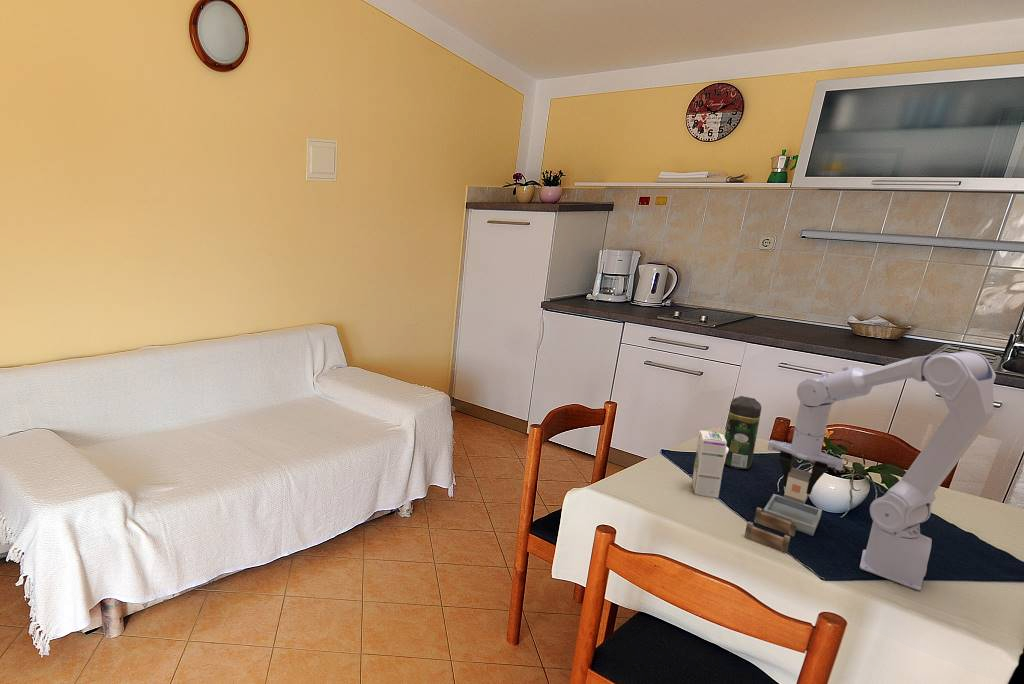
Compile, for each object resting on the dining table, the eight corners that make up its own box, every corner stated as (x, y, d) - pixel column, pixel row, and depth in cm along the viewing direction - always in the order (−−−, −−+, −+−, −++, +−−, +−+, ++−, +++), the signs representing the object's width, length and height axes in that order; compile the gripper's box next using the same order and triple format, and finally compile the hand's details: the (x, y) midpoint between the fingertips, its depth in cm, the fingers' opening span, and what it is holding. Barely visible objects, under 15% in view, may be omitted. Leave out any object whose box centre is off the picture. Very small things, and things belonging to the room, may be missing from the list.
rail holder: (794, 534, 113) (797, 521, 112) (786, 553, 105) (789, 538, 105) (755, 520, 117) (757, 507, 117) (744, 536, 110) (747, 523, 109)
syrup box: (718, 498, 126) (728, 441, 123) (693, 494, 127) (702, 437, 124) (714, 487, 131) (724, 432, 128) (690, 483, 132) (699, 429, 129)
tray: (820, 517, 121) (822, 509, 120) (813, 536, 113) (815, 527, 112) (772, 501, 127) (773, 493, 126) (761, 517, 119) (763, 509, 118)
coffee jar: (722, 453, 153) (732, 392, 149) (751, 460, 150) (763, 397, 146) (718, 465, 145) (730, 400, 141) (750, 473, 141) (762, 407, 137)
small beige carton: (807, 497, 119) (812, 473, 117) (803, 504, 115) (809, 479, 114) (787, 491, 121) (792, 467, 120) (783, 497, 118) (788, 472, 116)
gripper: (769, 426, 116) (758, 483, 119) (845, 447, 108) (832, 507, 111) (776, 419, 122) (765, 473, 125) (849, 437, 113) (836, 495, 116)
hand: (797, 489), depth 118 cm, fingers closed on small beige carton, 4 cm apart
